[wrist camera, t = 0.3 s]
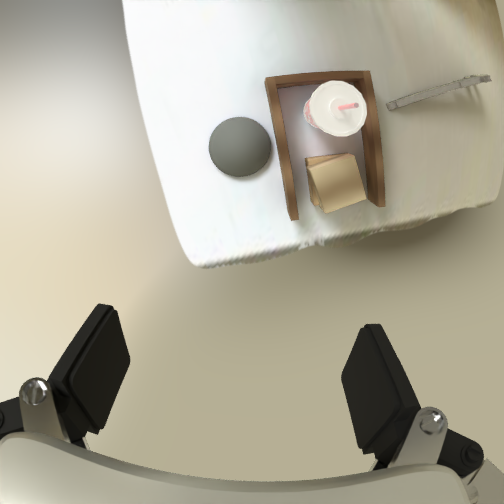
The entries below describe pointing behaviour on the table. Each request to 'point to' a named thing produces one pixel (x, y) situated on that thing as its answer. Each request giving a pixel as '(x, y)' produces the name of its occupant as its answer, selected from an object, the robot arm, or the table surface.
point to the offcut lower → (309, 162)
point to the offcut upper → (337, 182)
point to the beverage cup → (336, 109)
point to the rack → (368, 129)
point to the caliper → (439, 90)
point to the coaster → (239, 146)
